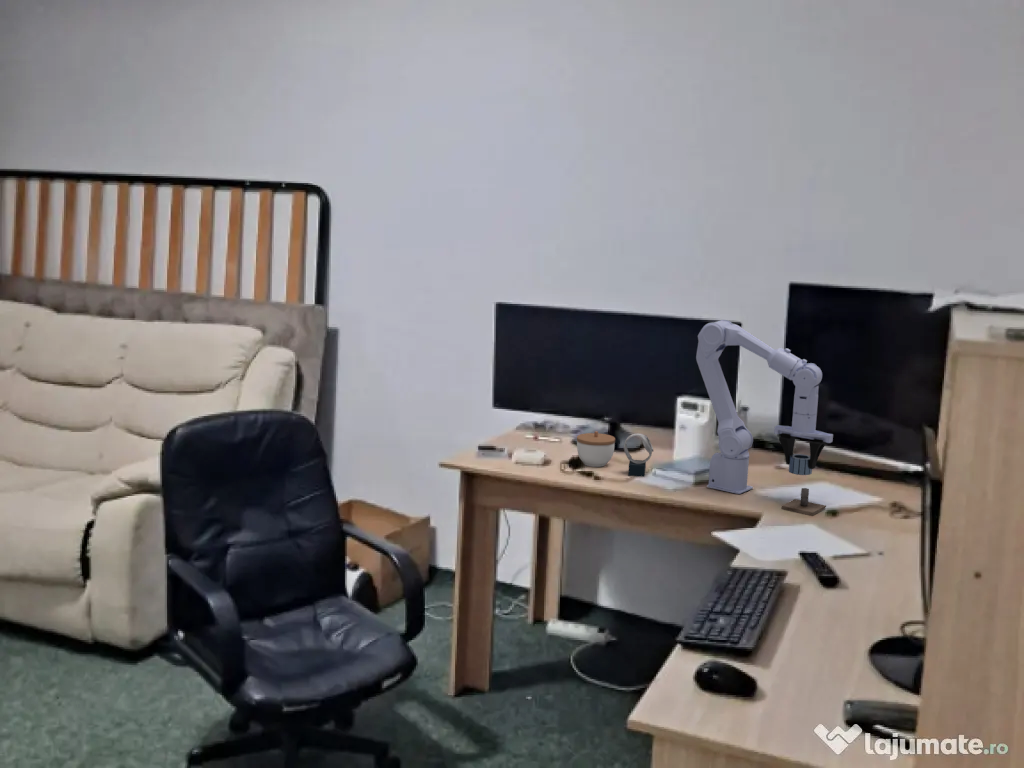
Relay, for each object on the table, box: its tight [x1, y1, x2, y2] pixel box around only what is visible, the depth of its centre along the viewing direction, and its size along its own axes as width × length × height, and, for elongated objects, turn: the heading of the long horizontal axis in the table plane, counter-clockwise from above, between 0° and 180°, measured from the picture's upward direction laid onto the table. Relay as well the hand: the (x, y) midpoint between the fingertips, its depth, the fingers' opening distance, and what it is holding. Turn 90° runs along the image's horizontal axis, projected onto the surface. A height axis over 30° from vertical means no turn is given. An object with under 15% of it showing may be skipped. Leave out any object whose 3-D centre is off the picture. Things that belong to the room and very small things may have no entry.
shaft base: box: [780, 487, 827, 517], centre depth 251 cm, size 8×8×5 cm
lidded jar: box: [576, 430, 616, 468], centre depth 287 cm, size 11×11×9 cm
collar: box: [788, 453, 813, 476], centre depth 257 cm, size 6×6×4 cm
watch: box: [623, 432, 654, 478], centre depth 278 cm, size 6×8×11 cm
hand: (800, 466), depth 257 cm, fingers closed on collar, 5 cm apart
